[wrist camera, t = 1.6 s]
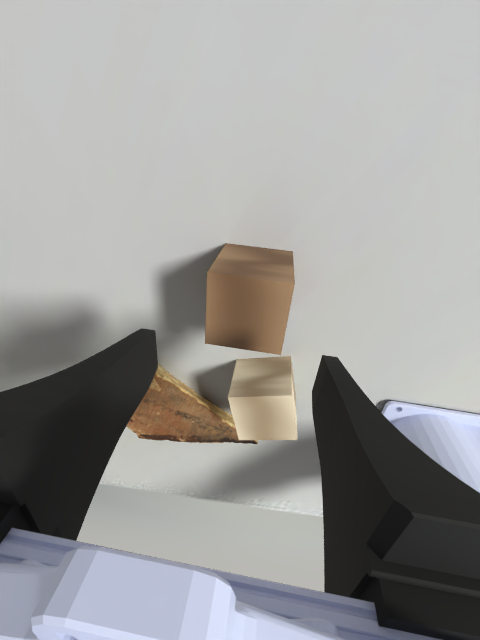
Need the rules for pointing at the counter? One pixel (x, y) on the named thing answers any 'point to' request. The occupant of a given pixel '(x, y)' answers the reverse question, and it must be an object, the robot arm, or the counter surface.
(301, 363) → the counter surface
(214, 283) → the walnut block
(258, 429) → the maple block
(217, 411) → the shard
